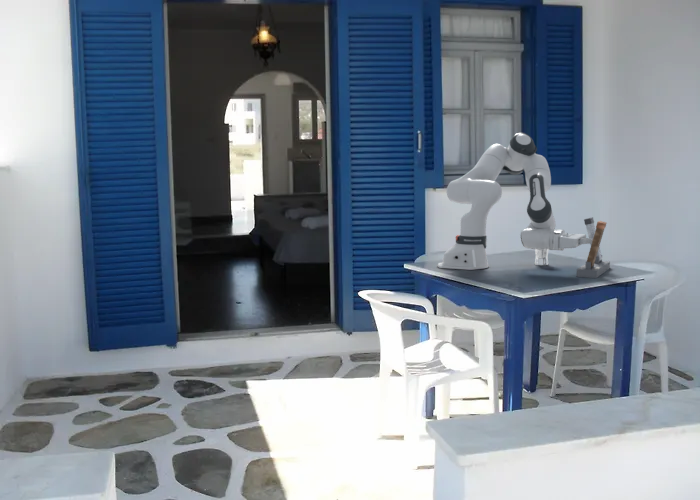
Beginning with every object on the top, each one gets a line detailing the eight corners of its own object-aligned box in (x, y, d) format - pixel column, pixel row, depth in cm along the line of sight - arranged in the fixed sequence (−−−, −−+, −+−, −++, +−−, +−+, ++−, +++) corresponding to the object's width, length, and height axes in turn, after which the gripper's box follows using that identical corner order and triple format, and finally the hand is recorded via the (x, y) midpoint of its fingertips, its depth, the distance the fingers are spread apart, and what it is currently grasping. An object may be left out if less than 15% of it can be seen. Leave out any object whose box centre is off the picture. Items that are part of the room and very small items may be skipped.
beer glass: (549, 265, 336) (550, 232, 334) (533, 265, 337) (534, 232, 335) (548, 263, 343) (549, 231, 341) (533, 263, 344) (534, 230, 342)
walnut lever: (584, 267, 307) (597, 221, 303) (587, 265, 312) (599, 220, 308) (591, 269, 306) (604, 223, 302) (593, 267, 311) (606, 222, 306)
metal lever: (594, 263, 323) (583, 219, 323) (596, 261, 328) (586, 218, 328) (600, 261, 322) (590, 218, 322) (603, 260, 326) (592, 217, 326)
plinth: (576, 276, 306) (576, 262, 305) (591, 266, 332) (591, 253, 332) (596, 278, 302) (597, 263, 302) (609, 268, 328) (610, 254, 328)
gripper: (564, 244, 324) (597, 245, 317) (553, 250, 306) (587, 251, 299) (564, 230, 323) (598, 231, 316) (553, 234, 305) (588, 236, 298)
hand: (593, 241), depth 307 cm, fingers closed, pressing on walnut lever
